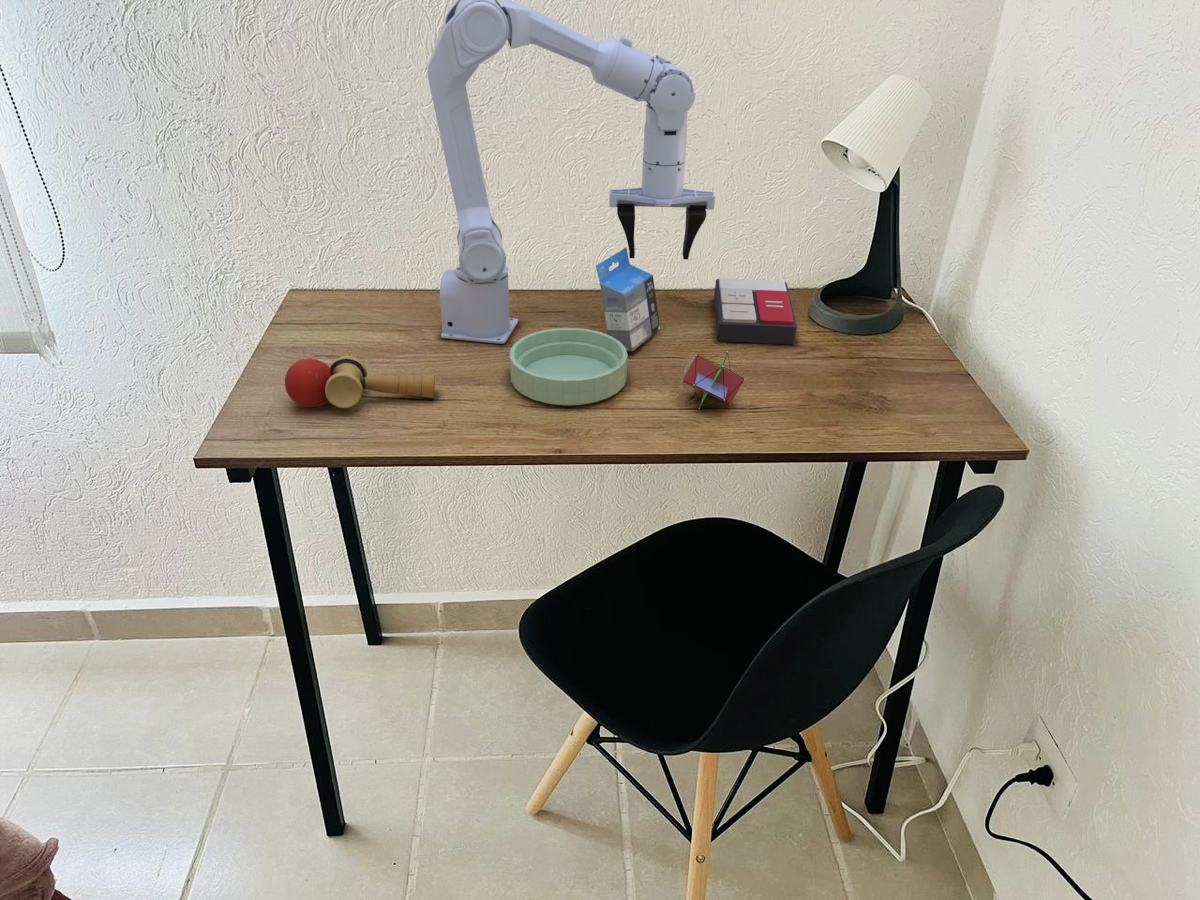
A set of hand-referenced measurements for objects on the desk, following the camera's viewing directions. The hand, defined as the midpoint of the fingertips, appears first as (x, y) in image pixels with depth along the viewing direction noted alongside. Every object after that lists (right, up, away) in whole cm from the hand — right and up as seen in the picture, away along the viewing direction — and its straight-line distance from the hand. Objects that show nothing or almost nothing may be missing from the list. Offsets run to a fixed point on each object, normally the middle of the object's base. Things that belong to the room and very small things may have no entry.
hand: (658, 256), depth 131 cm
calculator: (+14, -9, +6) cm, 18 cm away
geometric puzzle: (+6, -22, -15) cm, 27 cm away
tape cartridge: (-3, -12, -1) cm, 13 cm away
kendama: (-38, -22, -16) cm, 47 cm away
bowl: (-13, -18, -10) cm, 25 cm away
